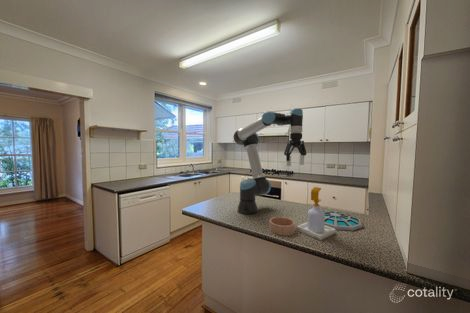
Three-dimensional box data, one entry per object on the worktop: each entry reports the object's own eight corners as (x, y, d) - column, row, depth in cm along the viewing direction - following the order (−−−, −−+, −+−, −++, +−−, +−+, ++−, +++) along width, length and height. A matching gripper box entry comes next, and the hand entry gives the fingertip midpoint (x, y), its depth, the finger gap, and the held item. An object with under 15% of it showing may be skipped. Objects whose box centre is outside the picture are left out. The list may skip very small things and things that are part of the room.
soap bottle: (326, 230, 110) (328, 188, 109) (320, 235, 104) (321, 190, 102) (311, 225, 116) (312, 185, 115) (304, 229, 110) (305, 187, 109)
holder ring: (264, 228, 114) (264, 220, 114) (280, 223, 122) (280, 215, 122) (283, 237, 103) (283, 228, 102) (299, 231, 111) (299, 222, 111)
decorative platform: (303, 221, 127) (303, 213, 127) (319, 210, 148) (320, 204, 148) (356, 236, 106) (356, 227, 105) (367, 222, 126) (367, 214, 126)
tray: (296, 230, 112) (296, 226, 112) (311, 224, 120) (311, 220, 120) (320, 240, 100) (320, 235, 99) (335, 233, 108) (335, 229, 108)
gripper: (288, 131, 114) (287, 166, 115) (312, 133, 128) (311, 165, 129) (278, 132, 120) (278, 165, 121) (302, 134, 134) (302, 164, 135)
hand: (295, 165), depth 125 cm, fingers open, 13 cm apart
